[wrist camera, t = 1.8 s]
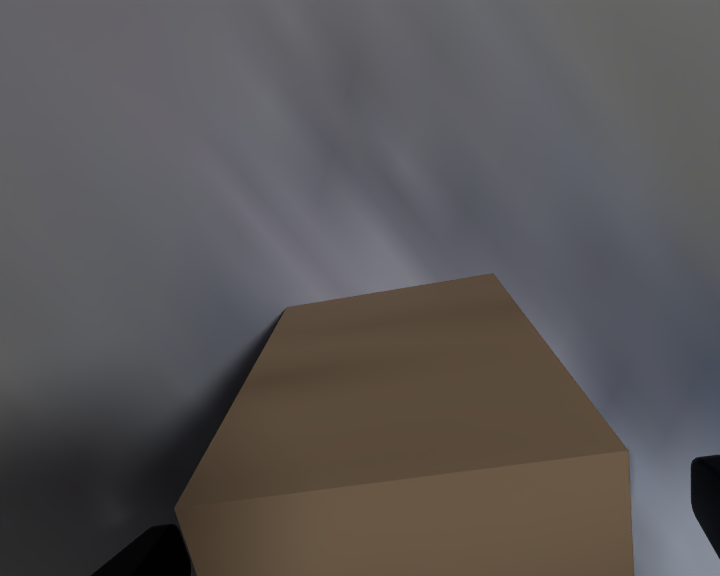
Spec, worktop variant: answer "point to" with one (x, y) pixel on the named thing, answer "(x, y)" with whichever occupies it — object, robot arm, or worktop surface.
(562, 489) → the walnut brick
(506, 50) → the worktop surface
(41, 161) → the worktop surface
